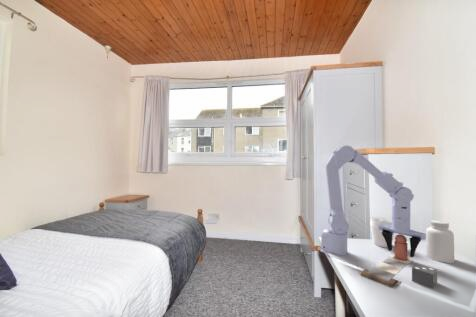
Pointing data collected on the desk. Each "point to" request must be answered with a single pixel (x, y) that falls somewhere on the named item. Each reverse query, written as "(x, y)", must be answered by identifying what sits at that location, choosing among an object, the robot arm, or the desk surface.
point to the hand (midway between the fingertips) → (400, 253)
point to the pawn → (400, 247)
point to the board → (386, 271)
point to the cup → (379, 231)
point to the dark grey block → (424, 275)
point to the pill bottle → (440, 242)
